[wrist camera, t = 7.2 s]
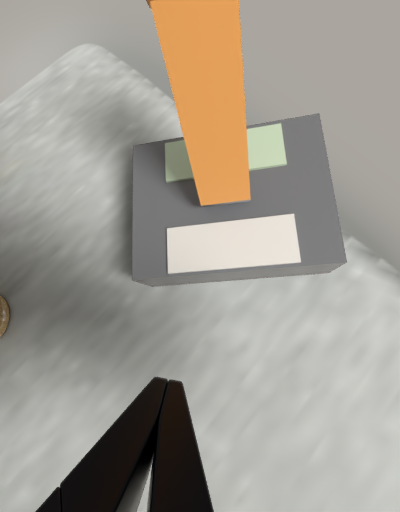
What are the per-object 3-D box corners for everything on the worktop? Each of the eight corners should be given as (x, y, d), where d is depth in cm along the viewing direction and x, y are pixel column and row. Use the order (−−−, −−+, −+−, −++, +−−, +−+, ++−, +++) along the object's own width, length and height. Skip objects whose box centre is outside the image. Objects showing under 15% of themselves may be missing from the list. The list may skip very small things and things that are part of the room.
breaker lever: (253, 211, 16) (235, -137, 7) (200, 217, 17) (118, -97, 7) (250, 186, 18) (231, -128, 8) (202, 192, 18) (134, -96, 9)
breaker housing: (329, 272, 19) (348, 261, 15) (152, 286, 21) (130, 279, 17) (308, 147, 21) (319, 111, 17) (151, 171, 23) (132, 144, 20)
